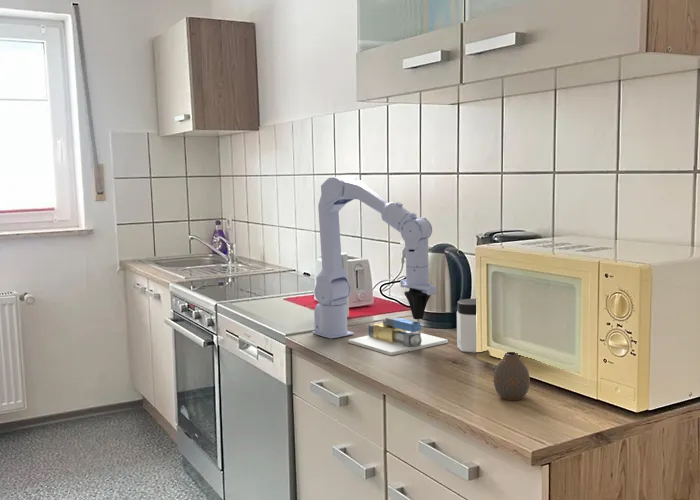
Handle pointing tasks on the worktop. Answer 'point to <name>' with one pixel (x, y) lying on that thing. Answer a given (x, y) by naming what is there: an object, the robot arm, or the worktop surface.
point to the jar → (466, 325)
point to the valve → (394, 335)
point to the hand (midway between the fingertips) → (418, 318)
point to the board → (395, 344)
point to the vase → (511, 377)
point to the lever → (402, 324)
